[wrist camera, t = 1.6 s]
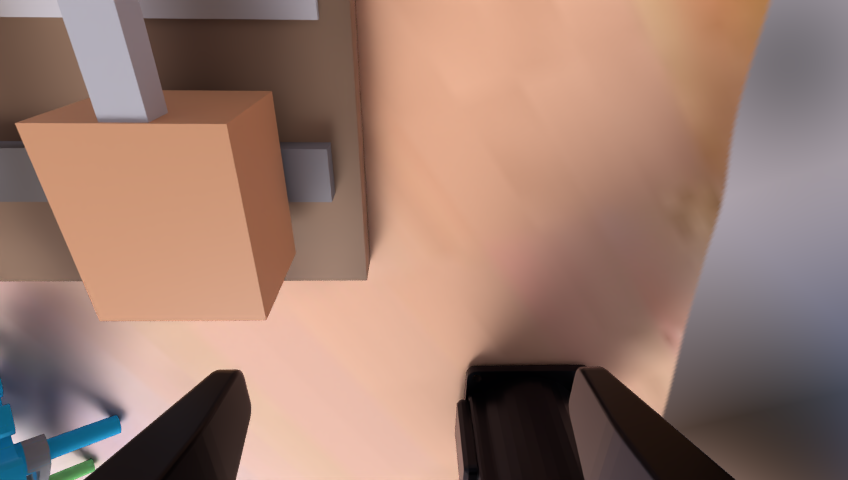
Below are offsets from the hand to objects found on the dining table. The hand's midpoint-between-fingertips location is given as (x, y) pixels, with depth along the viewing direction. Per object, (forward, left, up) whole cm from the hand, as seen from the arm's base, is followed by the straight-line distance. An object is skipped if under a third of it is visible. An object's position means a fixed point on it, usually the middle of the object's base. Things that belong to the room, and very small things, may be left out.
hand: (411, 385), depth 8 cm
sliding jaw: (+7, -2, -10) cm, 12 cm away
